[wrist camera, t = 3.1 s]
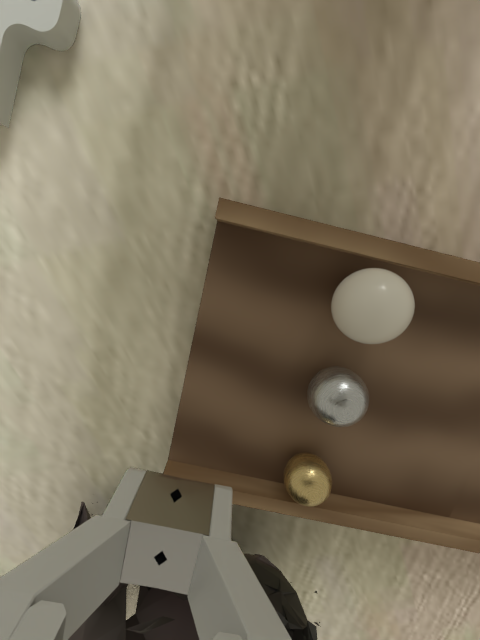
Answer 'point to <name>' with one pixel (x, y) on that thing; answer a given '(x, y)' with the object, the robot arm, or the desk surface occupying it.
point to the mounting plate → (31, 38)
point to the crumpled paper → (184, 608)
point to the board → (328, 351)
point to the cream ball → (372, 306)
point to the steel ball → (338, 396)
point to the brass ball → (307, 479)
